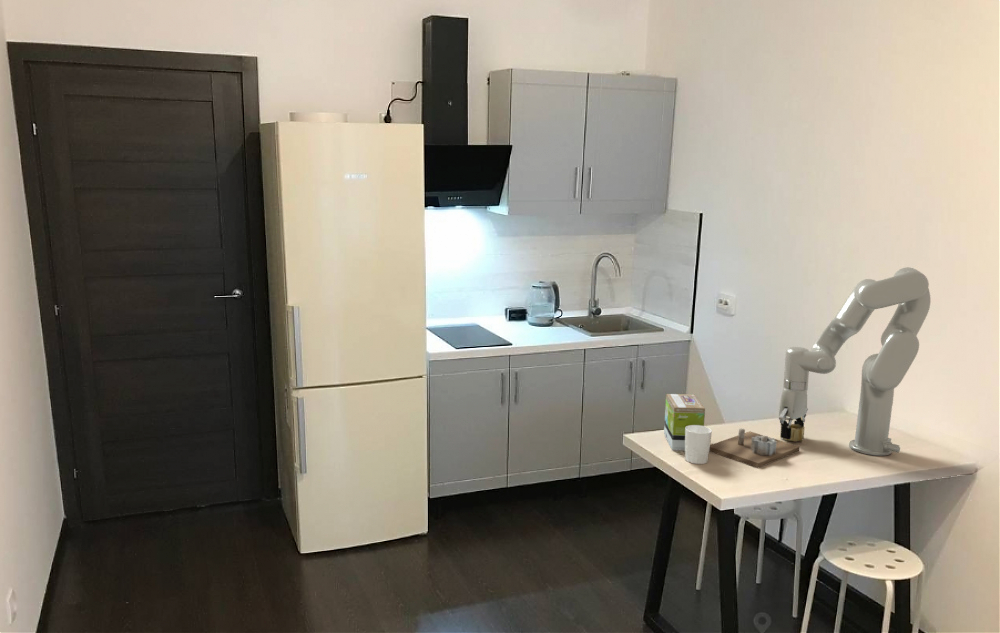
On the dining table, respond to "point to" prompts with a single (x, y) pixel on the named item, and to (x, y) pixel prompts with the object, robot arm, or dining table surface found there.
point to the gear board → (742, 451)
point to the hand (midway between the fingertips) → (792, 435)
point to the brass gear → (796, 433)
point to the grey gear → (763, 446)
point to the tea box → (681, 417)
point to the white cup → (697, 443)
